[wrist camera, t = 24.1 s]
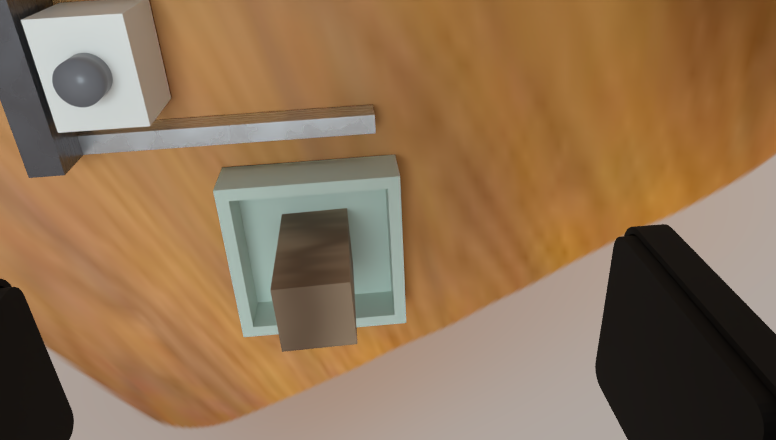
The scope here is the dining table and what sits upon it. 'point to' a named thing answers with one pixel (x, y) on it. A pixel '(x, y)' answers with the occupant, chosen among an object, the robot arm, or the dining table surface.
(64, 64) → the block
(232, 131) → the piston rail
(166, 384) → the dining table surface
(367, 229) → the tray
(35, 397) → the robot arm
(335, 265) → the stop block
